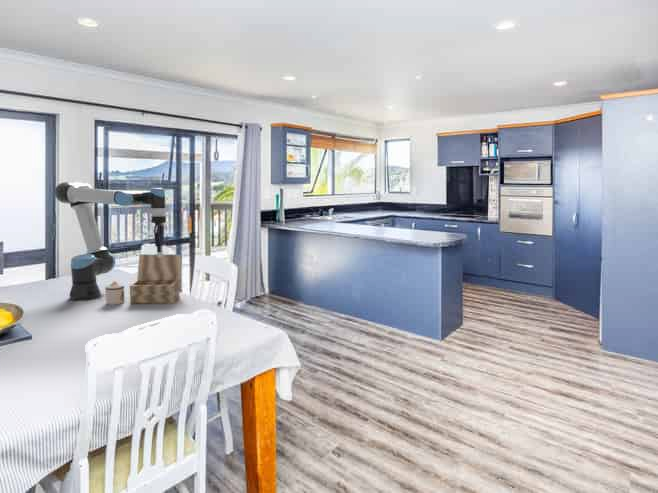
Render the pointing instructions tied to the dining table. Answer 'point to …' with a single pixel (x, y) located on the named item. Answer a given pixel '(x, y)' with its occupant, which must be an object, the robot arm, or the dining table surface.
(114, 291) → the teacup with lid
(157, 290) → the wicker basket box
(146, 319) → the dining table surface
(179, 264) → the lid flap
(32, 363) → the dining table surface
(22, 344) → the dining table surface
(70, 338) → the dining table surface
